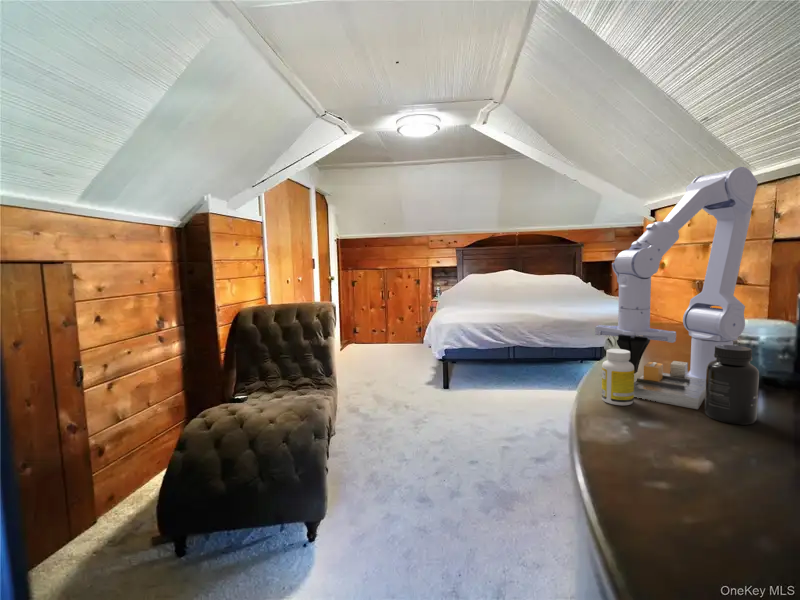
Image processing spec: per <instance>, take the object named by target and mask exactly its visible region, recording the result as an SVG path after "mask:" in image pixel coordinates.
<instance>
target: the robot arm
mask: <svg viewBox="0 0 800 600" xmlns="http://www.w3.org/2000/svg"><path fill="white" fill-rule="evenodd" d="M757 187H758V180H757V178H756V176H755V175H754V174H753V172H752V170H750V169H749V168H747V167H745V166H738V167H735V168H733V169H732V168H731V169H729V170H723V171H720V172H714V173H710V174H706V175H705V174H702V175H698V176H696V177H694V179H693V180H692V181H691V183H689V184H688V185H687V186H686V187H685V193H684V195H683V196H682V197H681V199H679V201H678V202H676V204H675V205H674V207H673V209H671V211H670V212H669V213H668V214H667V215H666V216H665V218H664V219H663V220H662V221H654V222H653V223H649V224H647V226H646V227H645V229H646V230H645V231H644V232H643V234H642V235H641V236H639V237H638V239H636V240H635V241H633V242H632V243H631V244H630V247H629V248H628V249H625V250H622V251H620V252H619V253H618V254H617V256H616V257H615V259H614V262H612V263H611V268H612V271H613V272H614V274H615V275H616V282H617V284H618V306H617V307H618V308H617V309H618V310H617V311H618V315H617V316H618V317H617V319H618V320H617V322H618V323H617V325H603V324H599V325H596V326H595V328H594V329H595V330H594V331H595V332H594V333H595V334H594V335H595V336H609V337H610V336H611V337H617V339H616V343H617V345H618V349H624V350H628V351H630V360H629V362H630V363H632V364H633V365H634V375H635V374H636V373H637V372H638V370H639V366H640V363H641V360H642V357H643V355H644V352H645V351H646V349H647V347H648V345H649V344H650V342H651V341H660V342H667V343H672V344H674V343H675V342H676V341H677V331H674V330H665V329H656V328H651V300H652V299H651V296H652V295H651V293H652V290H651V288H652V277H653V276H654V275H655V274H656V273H657V272H658V271H659V268H660V263H661V261H662V259H663V257H664V255H665V254H666V253H667V252H668V251H669V250H670V249H671V248H672V247H673V245H674V244H676V242H677V241H678V240H679V238H680V233H679V231H680V230H681V229H682V228H683V227H684V226H685V225H686V224H687V223H688V222H689V221H690V220H692V219H693V217H695V216H696V215H697V214H698V213H699V212H701V210H703V211H704V212H706V213H707V214H708V215H709V216H713V217H714V218H715V219H716V225H715V230H714V234H713V239H712V245H711V249H710V252H709V258H708V262H707V266H706V271H705V276H704V280H703V281H704V282H703V286H702V290H701V291H700V293H698V294H697V295H695V296H693V297H692V298H690V300H689V304H688V307H687V308H686V310H685V311H684V313H683V316H682V323H683V327H684V328H685V330H687V331H688V336H689V337H691V342H690V343H691V344H690V345H691V347H690V366H689V367H690V370H689V371H688V374H687V376H688V377H695V378H702V379H706V369H707V365H708V364H709V363H710V362H712V361H714V360H716V358H715V357H714V353H715V346H717V345H734V341H737V340H738V337H740V336H741V335H742V333H743V332H744V331H745V327H746V320H745V308H746V305H745V304H743V302H741V301H740V300H739V299H738V298H737V297H736V296H735V291H736V285H737V281H738V277H739V271H740V267H741V262H742V257H743V253H744V248H745V244H746V239H747V235H748V230H749V226H750V221H751V219H752V209H753V206H754V201H755V196H756V193H757ZM719 307H721V308H719Z"/></svg>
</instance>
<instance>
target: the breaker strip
mask: <svg viewBox="0 0 800 600" xmlns="http://www.w3.org/2000/svg"><path fill="white" fill-rule="evenodd" d="M688 365H689V362H688V361H687V362H686V361H685V362H684V361H677V360H673V361H672V362H671V363H670V366H669V367H670V368H669V371H670V372H669V373H667V372H663V378H662V379H661V380H660V381H659V382H658V381H652V380H646V379H644V373H643V374H642V375H641V376H640V377H637V378H636V380H634V397H637V398H636V399H639V398H642V399H641V400H645V399H648V400H647V401H650V400H651V401H650V402H655V401H656V402H655V403H662V404H666V405H667V404H668V405H673V406H678V407H681V408H682V407H683V408H687V409H694V410H699V408H700V406H701V405H702V404H703V401H705V390H706V379H702V378H695V377H688V376H687V374H688V372H689V371H688V369H689V367H688Z"/></svg>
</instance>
